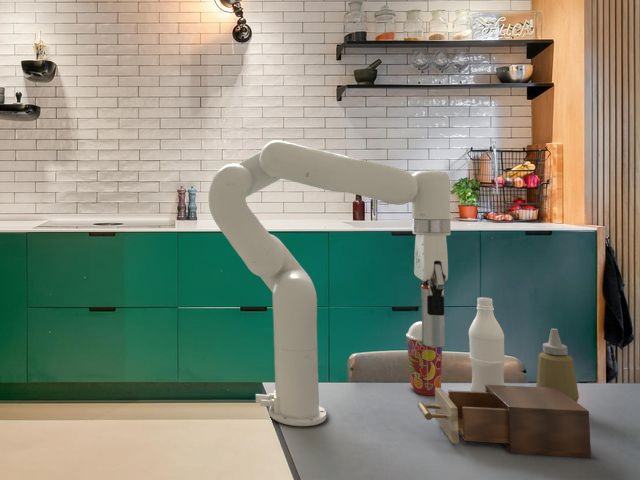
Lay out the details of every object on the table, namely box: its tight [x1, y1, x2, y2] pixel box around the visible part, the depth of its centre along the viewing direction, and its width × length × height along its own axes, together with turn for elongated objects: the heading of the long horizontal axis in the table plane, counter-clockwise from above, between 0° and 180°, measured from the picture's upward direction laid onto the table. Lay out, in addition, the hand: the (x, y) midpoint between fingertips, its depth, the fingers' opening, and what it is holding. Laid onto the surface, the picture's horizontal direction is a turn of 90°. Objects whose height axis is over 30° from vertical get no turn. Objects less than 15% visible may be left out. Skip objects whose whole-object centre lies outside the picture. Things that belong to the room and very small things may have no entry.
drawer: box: [417, 387, 509, 444], centre depth 114 cm, size 17×11×7 cm
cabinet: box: [485, 385, 592, 459], centre depth 112 cm, size 14×13×9 cm
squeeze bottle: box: [535, 328, 580, 403], centre depth 128 cm, size 8×8×18 cm
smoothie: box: [405, 320, 443, 396], centre depth 140 cm, size 8×8×20 cm
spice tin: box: [420, 284, 446, 348], centre depth 122 cm, size 5×5×12 cm
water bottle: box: [468, 296, 506, 392], centre depth 129 cm, size 7×7×25 cm
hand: (432, 311), depth 122 cm, fingers closed on spice tin, 4 cm apart
